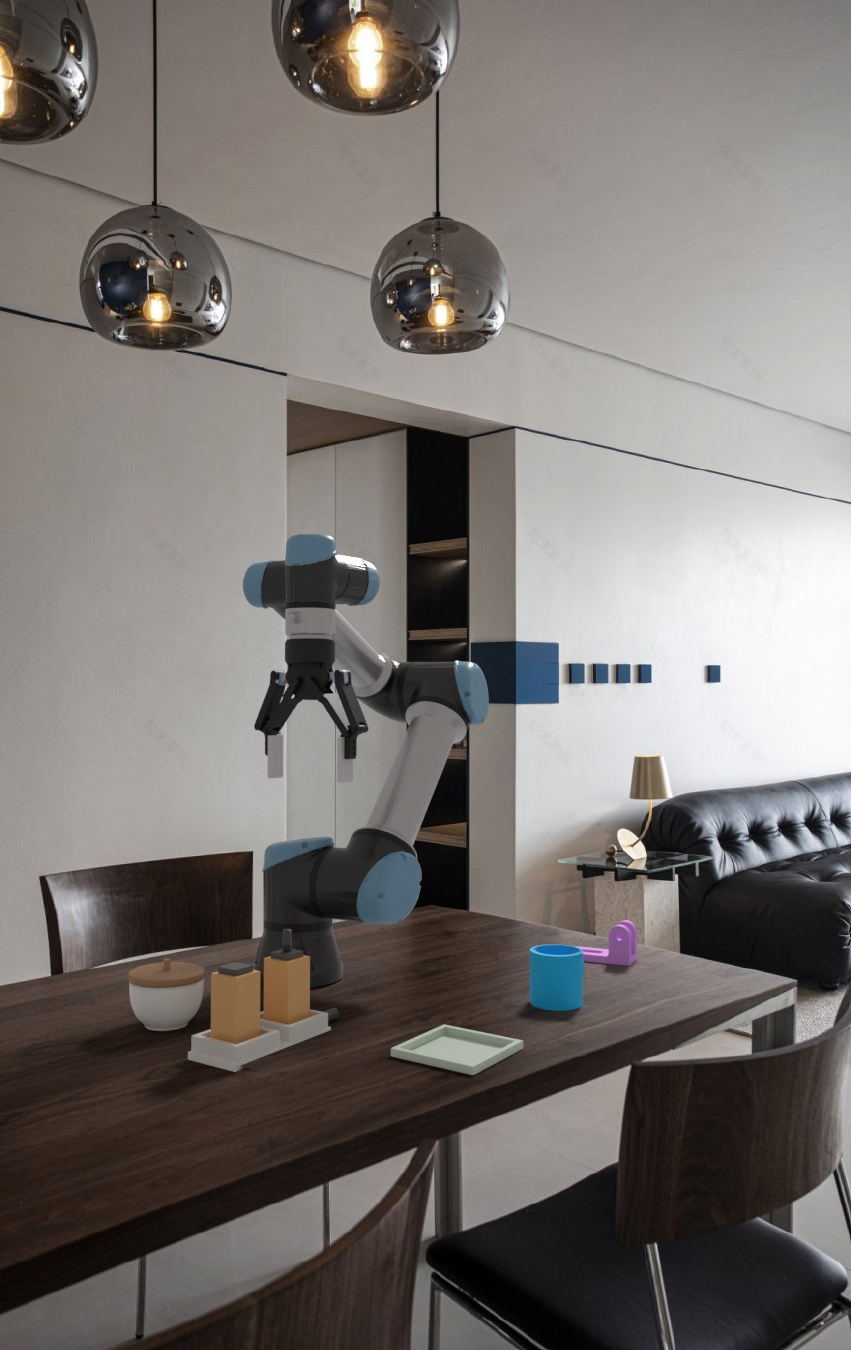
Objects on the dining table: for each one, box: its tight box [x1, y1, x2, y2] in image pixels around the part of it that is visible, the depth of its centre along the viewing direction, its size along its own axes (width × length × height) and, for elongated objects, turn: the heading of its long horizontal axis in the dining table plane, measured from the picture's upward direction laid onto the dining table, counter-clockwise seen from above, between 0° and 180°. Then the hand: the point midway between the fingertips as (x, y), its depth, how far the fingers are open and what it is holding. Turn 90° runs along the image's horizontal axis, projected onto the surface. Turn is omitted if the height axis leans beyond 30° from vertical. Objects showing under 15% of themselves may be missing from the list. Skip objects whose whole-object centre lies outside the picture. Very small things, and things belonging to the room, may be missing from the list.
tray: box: [390, 1023, 524, 1076], centre depth 144 cm, size 13×13×2 cm
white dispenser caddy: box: [187, 929, 340, 1073], centre depth 151 cm, size 25×8×15 cm, turn 146°
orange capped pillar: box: [210, 961, 261, 1044], centre depth 144 cm, size 4×4×11 cm
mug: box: [529, 943, 585, 1012], centre depth 171 cm, size 12×8×8 cm
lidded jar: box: [127, 958, 206, 1032], centre depth 158 cm, size 11×11×9 cm
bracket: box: [574, 919, 638, 967], centre depth 199 cm, size 13×6×7 cm, turn 66°
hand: (309, 780), depth 165 cm, fingers open, 13 cm apart
